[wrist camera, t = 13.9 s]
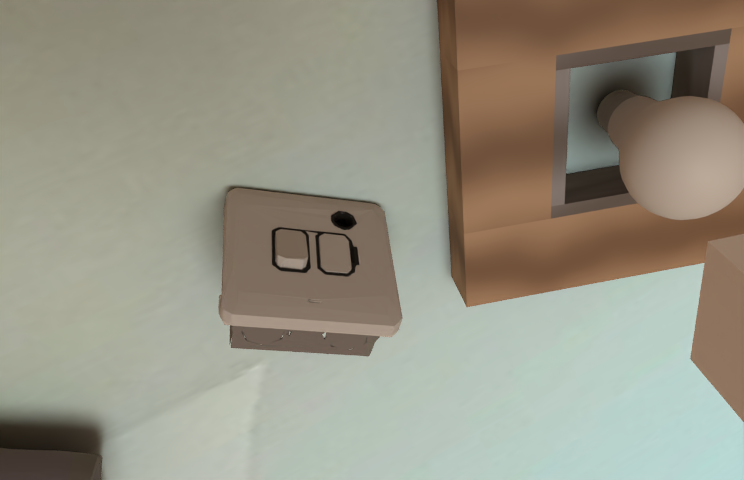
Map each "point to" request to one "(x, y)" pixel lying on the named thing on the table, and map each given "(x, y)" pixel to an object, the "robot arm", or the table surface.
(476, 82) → the socket base
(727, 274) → the robot arm
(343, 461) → the table surface
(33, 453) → the bluetooth speaker
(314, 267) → the electrical switch
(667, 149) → the lightbulb
